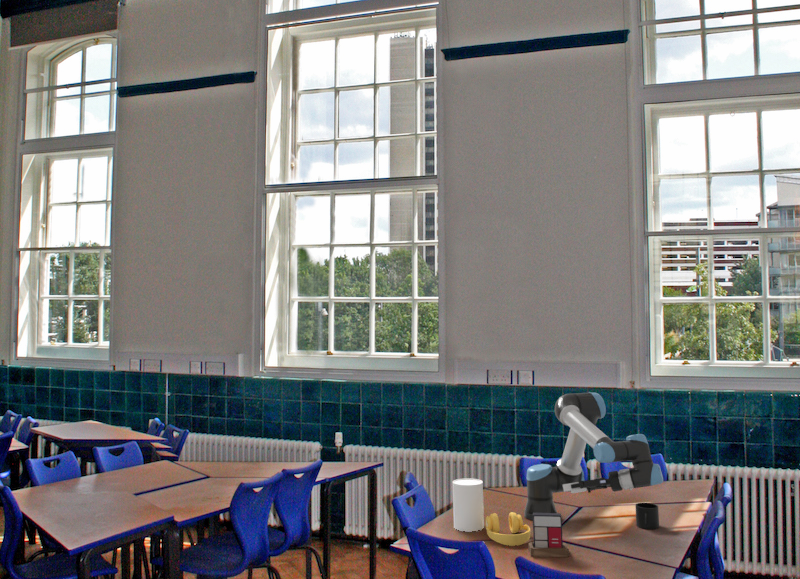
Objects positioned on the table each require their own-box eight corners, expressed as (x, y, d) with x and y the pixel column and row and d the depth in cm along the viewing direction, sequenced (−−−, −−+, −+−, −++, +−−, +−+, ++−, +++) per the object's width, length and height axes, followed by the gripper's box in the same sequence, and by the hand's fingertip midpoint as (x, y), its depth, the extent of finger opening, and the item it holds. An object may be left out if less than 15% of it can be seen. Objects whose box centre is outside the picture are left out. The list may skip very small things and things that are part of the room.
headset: (493, 547, 262) (493, 524, 263) (481, 532, 283) (481, 511, 284) (536, 545, 264) (535, 522, 264) (521, 530, 285) (520, 509, 285)
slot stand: (528, 549, 257) (528, 542, 258) (565, 550, 256) (565, 542, 257) (531, 556, 250) (530, 548, 250) (568, 556, 249) (568, 548, 249)
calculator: (534, 554, 252) (532, 515, 253) (533, 551, 256) (532, 512, 257) (563, 555, 250) (561, 516, 251) (562, 551, 254) (560, 513, 255)
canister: (487, 530, 284) (486, 484, 285) (458, 532, 281) (456, 486, 283) (479, 521, 297) (477, 477, 298) (450, 523, 295) (449, 479, 296)
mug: (634, 529, 280) (633, 508, 280) (637, 522, 291) (636, 501, 291) (658, 532, 276) (657, 510, 277) (659, 524, 287) (658, 503, 287)
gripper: (618, 488, 240) (562, 497, 248) (627, 491, 261) (575, 500, 268) (613, 467, 243) (557, 477, 251) (622, 472, 264) (571, 481, 272)
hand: (566, 489), depth 260 cm, fingers open, 13 cm apart
